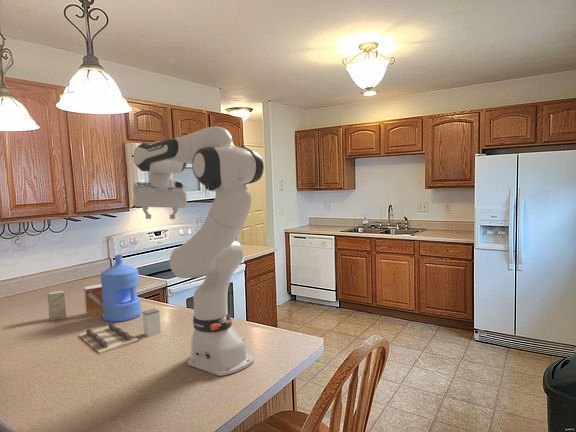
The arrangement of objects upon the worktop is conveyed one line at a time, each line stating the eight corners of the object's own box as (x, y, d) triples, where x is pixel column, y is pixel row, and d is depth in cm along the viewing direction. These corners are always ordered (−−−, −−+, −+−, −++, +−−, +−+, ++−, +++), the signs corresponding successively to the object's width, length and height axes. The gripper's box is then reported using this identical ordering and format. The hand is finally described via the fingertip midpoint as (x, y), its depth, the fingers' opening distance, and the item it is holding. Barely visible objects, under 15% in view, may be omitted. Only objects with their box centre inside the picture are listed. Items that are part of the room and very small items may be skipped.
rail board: (139, 341, 144) (138, 334, 144) (99, 353, 135) (99, 346, 134) (115, 326, 161) (114, 320, 161) (78, 336, 152) (78, 329, 152)
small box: (87, 317, 174) (84, 289, 173) (85, 313, 179) (83, 286, 178) (106, 313, 178) (104, 286, 177) (104, 310, 184) (102, 283, 182)
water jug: (95, 321, 168) (90, 258, 166) (121, 309, 183) (116, 251, 181) (125, 323, 164) (120, 259, 161) (148, 311, 179) (144, 252, 176)
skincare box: (50, 321, 170) (48, 294, 169) (49, 319, 174) (46, 292, 173) (66, 317, 174) (64, 291, 173) (65, 315, 178) (62, 289, 177)
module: (160, 332, 152) (159, 310, 151) (148, 336, 149) (146, 313, 148) (156, 330, 155) (154, 308, 154) (143, 333, 152) (142, 311, 151)
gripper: (135, 180, 140) (135, 218, 140) (188, 184, 153) (188, 219, 153) (130, 182, 145) (130, 218, 145) (182, 185, 158) (182, 219, 158)
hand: (160, 219), depth 149 cm, fingers open, 8 cm apart
